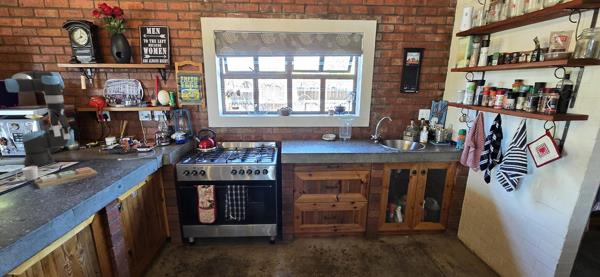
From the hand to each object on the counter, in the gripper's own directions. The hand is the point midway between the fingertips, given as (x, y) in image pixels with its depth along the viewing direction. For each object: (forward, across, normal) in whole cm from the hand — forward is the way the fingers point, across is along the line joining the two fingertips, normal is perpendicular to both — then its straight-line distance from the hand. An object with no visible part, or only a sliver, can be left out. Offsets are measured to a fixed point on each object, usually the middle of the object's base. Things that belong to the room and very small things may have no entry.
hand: (62, 137), depth 153 cm
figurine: (+25, -25, +46) cm, 59 cm away
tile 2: (+22, +8, -4) cm, 24 cm away
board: (+24, +8, -4) cm, 26 cm away
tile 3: (+23, +9, +4) cm, 25 cm away
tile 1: (+22, +7, -12) cm, 26 cm away
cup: (+25, -9, -16) cm, 31 cm away
